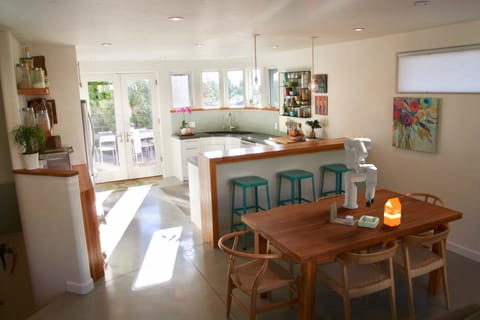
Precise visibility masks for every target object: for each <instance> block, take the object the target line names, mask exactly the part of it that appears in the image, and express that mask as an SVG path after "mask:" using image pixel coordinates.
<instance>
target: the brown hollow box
mask: <svg viewBox="0 0 480 320" xmlns="http://www.w3.org/2000/svg"><path fill="white" fill-rule="evenodd" d="M337 210H338V201H337V200H336V201H334V202H333V203H332V204H331V205H330V206H329V224H330V223H331V224H335V225H341V226H347V227H354V225H355V224H356V223H358V221H359V219H358V218H353V223H352V224H349V223H346V217H347V216H345V217H344V216H342V215H341V216H339V215H338V213H337V212H338V211H337Z"/></svg>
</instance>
